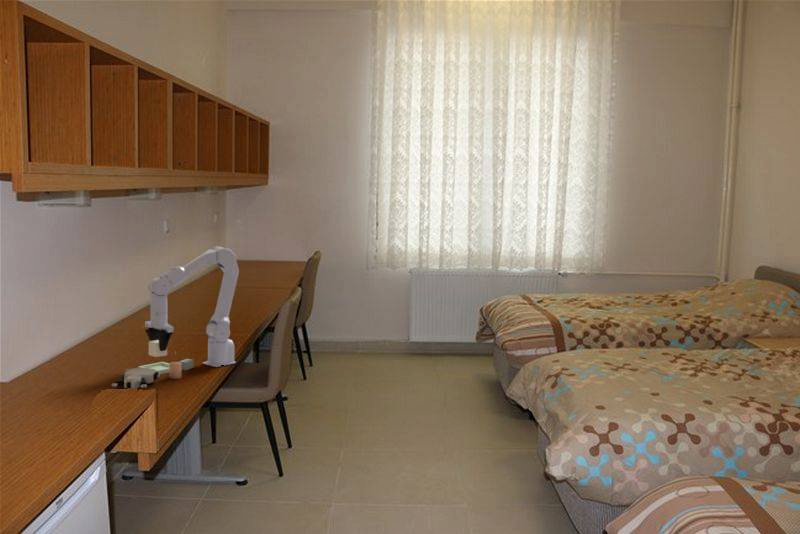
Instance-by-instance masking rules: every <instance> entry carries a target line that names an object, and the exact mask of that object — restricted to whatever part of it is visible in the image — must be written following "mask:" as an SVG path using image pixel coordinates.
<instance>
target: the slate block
mask: <svg viewBox="0 0 800 534" xmlns="http://www.w3.org/2000/svg"><path fill="white" fill-rule="evenodd" d="M178 362H181V363H182V371H187V370H190V369H192V368H194V363H195V362H194V359H192V358H191V359H190V358H185V359H182V360H180V361H178Z"/></svg>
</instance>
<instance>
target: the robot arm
mask: <svg viewBox="0 0 800 534" xmlns="http://www.w3.org/2000/svg"><path fill="white" fill-rule="evenodd" d="M206 265H218V266H219V268H220V270H221V271H222V272H223V276H222V280H221V284H220V288H219V293H218V298H217V301H216V306H215V309H214V310H215V311H214V313H213V315H212V316H211V317H210V321H209V323H208V324H207V325H206V327H205V332H206V335H207V336H208V339H207V360H206V361H203V362H202V364H204V365H206V366H209V367H210V366H211V367H214V368H218V367H222V366H221V365H224V366H228V365H233V364H236V361H235V344H234V341H233V340H232V339H230V335H231V330H230V327H231V325H230V324H231V321H230V312H231V309H232V304H233V299H234V296H235V291H236V287H237V283H238V277H239V273H240V269H239V265H238V262H237V255H236V254H235V252H234V251H233V250H232V249H230V248H228V247H223V246H220V245H216V246H214V247H212V248H210V249H207V250H206V251H204V252H203V253H201V254H200V255H198V256H197V257H195V258H194V259H192V260H191V261H190V262H188V263H187V264H184V265H183V266H180V265H179V266H178V265H177V266H172V267H170V270H168V271H167V272H165V273H163V274H162V273H160V274H159V277H154V278H153V279H151V280H150V282H149V284H148V285H147V286H148V287H147V288H148V290H149V291H150V303H149V304H150V309H149V310H150V311H149V312H150V313H149V314H150V320H147V321H144V327H145V328H146V329H145V330H144V331H145V333H146V335H147V337H148V339H149V341H154V340H159V348H160V351H165V350H166V349H167V350H168V344H169V342H170V341H169V340H170V339H171V337H172V335H173V334H174V326H173V325H171V324H169V323H168V294H169V292H170V290H171V289H173V288H175V287H176V286H178V285H180V284H181V283H183V282H184V281H186V280H187V278H188V275H190V274H191V273H194V272H195V271H196V270H199V269H200V268H202V267H204V266H206Z"/></svg>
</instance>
